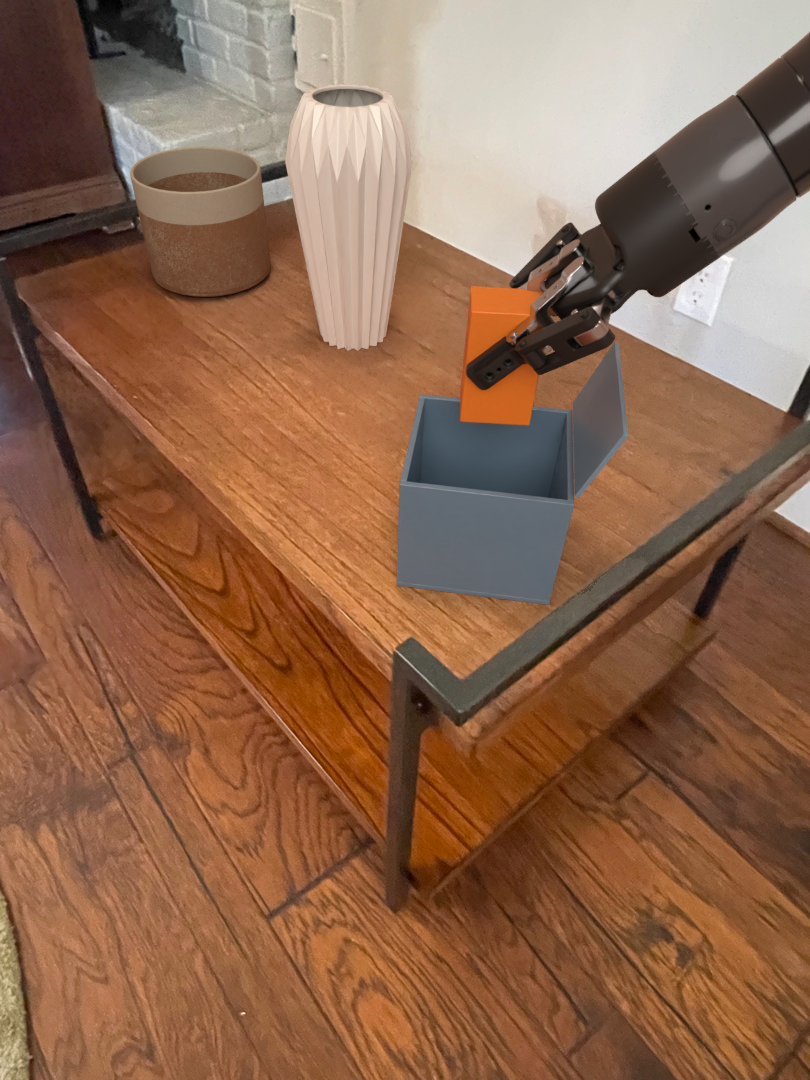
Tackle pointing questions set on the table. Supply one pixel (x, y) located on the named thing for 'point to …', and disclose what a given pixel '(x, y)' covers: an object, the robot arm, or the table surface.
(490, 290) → the block
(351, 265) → the vase
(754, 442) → the table surface
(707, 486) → the table surface
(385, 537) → the table surface
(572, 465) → the blue box
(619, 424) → the gray box lid
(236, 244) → the planter
